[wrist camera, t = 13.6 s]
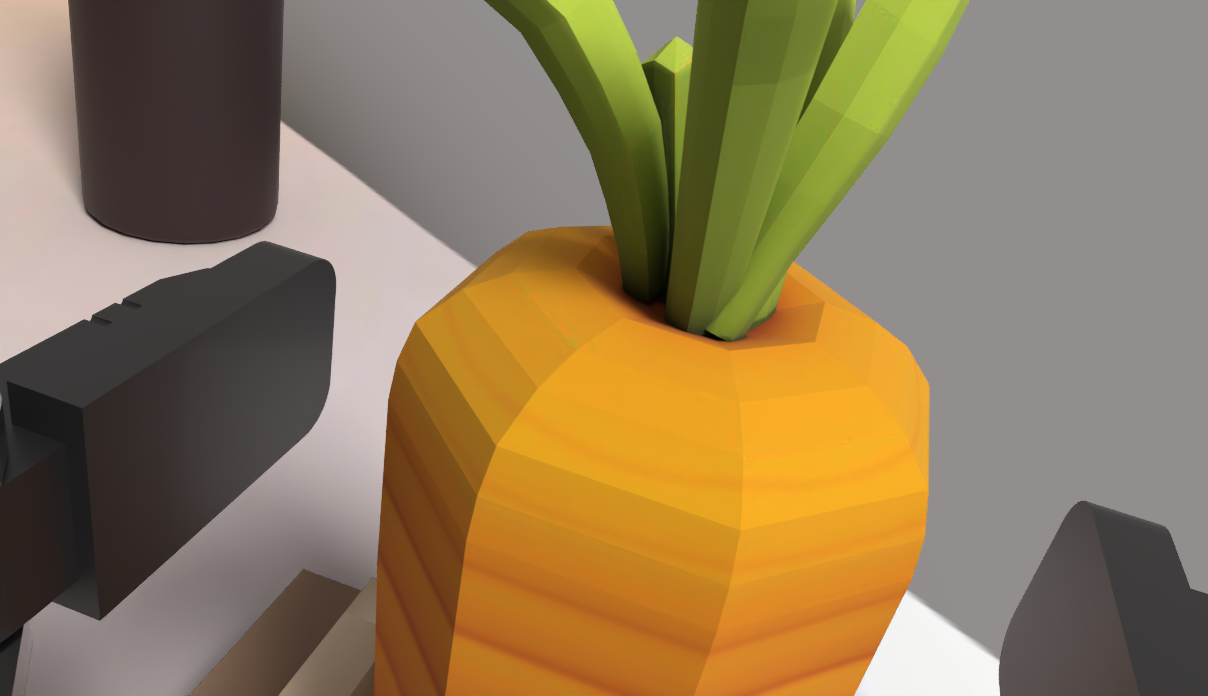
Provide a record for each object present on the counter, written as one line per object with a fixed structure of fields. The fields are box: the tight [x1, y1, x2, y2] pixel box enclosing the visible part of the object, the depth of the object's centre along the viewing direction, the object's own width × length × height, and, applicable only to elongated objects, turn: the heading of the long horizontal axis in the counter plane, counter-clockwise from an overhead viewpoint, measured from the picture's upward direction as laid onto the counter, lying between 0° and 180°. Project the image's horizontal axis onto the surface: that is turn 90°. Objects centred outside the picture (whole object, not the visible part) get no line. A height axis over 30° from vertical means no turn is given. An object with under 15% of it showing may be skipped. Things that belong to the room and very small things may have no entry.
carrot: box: [374, 0, 970, 696], centre depth 10 cm, size 5×5×15 cm
